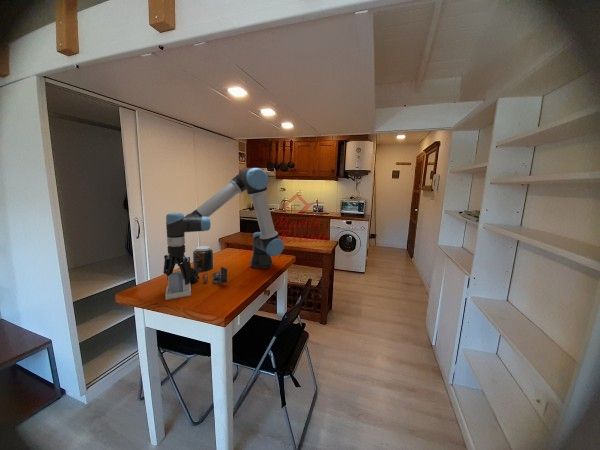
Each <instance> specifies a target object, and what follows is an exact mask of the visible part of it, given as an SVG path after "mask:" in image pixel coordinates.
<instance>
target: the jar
mask: <svg viewBox="0 0 600 450" xmlns="http://www.w3.org/2000/svg"><path fill="white" fill-rule="evenodd" d="M213 251H214V250H213V249H212V248H211V247H210V245H209V246H208V245H200V246H196V247H195V250H194V251H193V253H192V260H193V261H192V263H193V267H192V268H193V269H195V270H198V271H199V273H204V272H210V271H211V270H213V269H214V252H213Z"/></svg>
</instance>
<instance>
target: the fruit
mask: <svg viewBox="0 0 600 450" xmlns="http://www.w3.org/2000/svg"><path fill="white" fill-rule="evenodd" d="M191 270H192V275H193V276H192V277H190V278H189V283H193V282H194V283H196V282H198V280H200V276H199V273H200V272H199V271H198V270H195V269H194V268H193V267H191ZM186 276H187V275H186Z"/></svg>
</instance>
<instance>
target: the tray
mask: <svg viewBox="0 0 600 450" xmlns="http://www.w3.org/2000/svg"><path fill="white" fill-rule="evenodd" d="M188 286H189V289H188V290H187V291H184V292H177V293H171V288H170V289H169V287H168V285H167V286H166V287H165V288H166V289H165V295H164V296H165V301H167V300H174V299H179V298H185V297H191V296H192V289H191V287H192V286H191V282H189V284H188Z"/></svg>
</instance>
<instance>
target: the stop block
mask: <svg viewBox="0 0 600 450" xmlns="http://www.w3.org/2000/svg"><path fill="white" fill-rule="evenodd" d="M183 278H184V277H183V274H182V272H181V270H176V271H173V273H172V274H170V283H171V293H177V292H184V291H183ZM186 291H187V290H186Z"/></svg>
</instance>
